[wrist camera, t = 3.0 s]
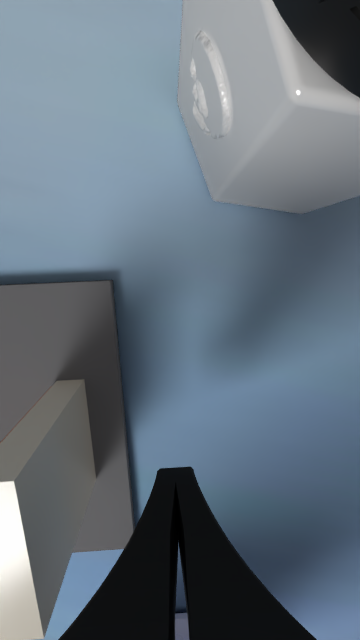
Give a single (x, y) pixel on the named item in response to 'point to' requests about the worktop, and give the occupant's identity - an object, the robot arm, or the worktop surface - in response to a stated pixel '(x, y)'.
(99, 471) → the mat
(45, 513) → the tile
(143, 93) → the worktop surface
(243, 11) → the jar
